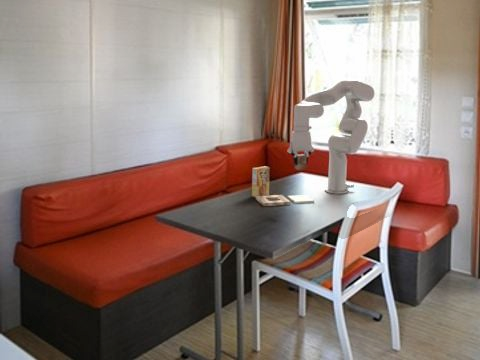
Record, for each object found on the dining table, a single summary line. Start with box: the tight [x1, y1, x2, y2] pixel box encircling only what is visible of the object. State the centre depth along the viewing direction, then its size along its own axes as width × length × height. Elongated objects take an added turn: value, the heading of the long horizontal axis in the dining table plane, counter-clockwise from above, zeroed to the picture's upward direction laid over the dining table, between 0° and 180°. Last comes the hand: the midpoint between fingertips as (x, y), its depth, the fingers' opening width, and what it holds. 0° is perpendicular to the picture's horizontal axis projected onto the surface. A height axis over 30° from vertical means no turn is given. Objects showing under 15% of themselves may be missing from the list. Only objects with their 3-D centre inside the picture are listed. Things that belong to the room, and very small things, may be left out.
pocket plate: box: [255, 194, 292, 207], centre depth 276 cm, size 14×14×2 cm
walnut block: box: [294, 153, 307, 171], centre depth 275 cm, size 4×4×7 cm
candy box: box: [251, 165, 271, 198], centre depth 286 cm, size 9×4×15 cm, turn 129°
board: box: [287, 194, 315, 205], centre depth 280 cm, size 10×12×1 cm
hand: (300, 164), depth 275 cm, fingers closed on walnut block, 4 cm apart
